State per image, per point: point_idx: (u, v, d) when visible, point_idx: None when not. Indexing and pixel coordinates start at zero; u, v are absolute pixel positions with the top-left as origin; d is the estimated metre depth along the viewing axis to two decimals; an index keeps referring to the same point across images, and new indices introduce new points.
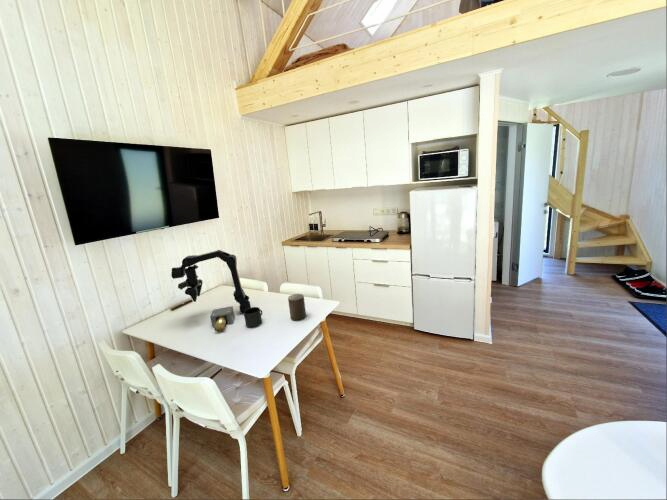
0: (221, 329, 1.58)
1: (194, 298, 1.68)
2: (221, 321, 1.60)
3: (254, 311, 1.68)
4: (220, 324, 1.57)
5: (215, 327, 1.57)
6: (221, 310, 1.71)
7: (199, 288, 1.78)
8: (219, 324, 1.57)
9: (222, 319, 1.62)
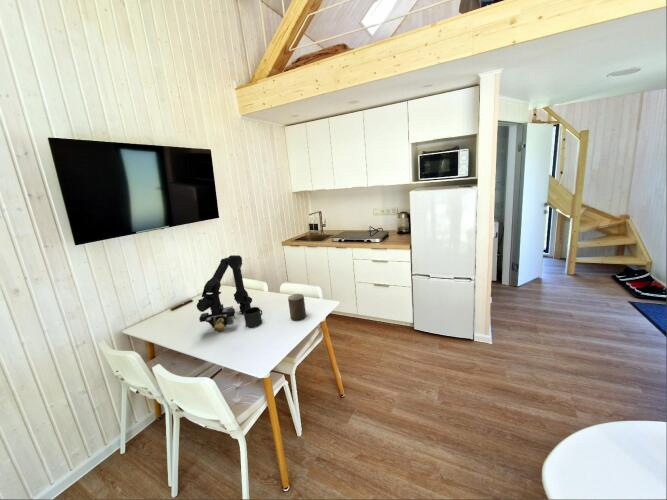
0: (221, 329, 1.58)
1: None
2: (221, 321, 1.60)
3: (254, 311, 1.68)
4: (220, 324, 1.57)
5: (215, 327, 1.57)
6: None
7: None
8: (219, 324, 1.57)
9: (222, 319, 1.62)
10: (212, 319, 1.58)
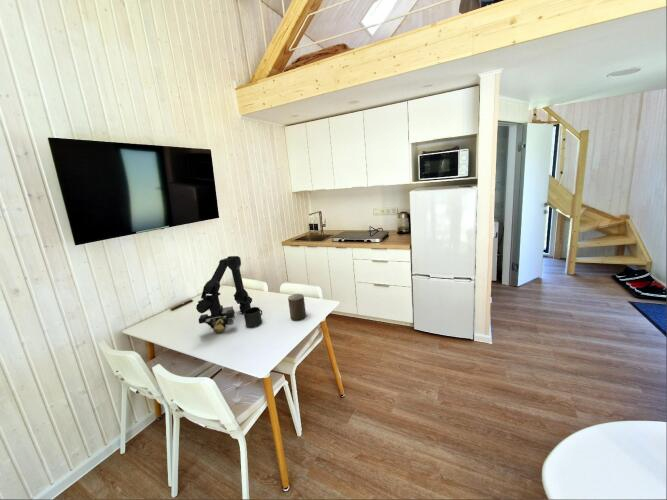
0: (220, 331, 1.56)
1: None
2: (220, 322, 1.58)
3: (254, 311, 1.68)
4: (219, 326, 1.55)
5: (214, 329, 1.55)
6: None
7: (223, 321, 1.56)
8: (219, 326, 1.55)
9: (222, 320, 1.61)
10: (211, 320, 1.56)
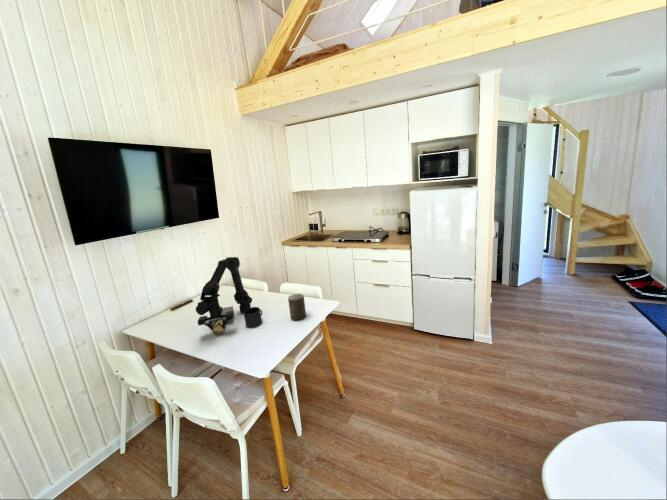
0: (220, 332, 1.54)
1: None
2: (220, 324, 1.56)
3: (254, 311, 1.67)
4: (219, 327, 1.53)
5: (214, 330, 1.53)
6: None
7: None
8: (218, 328, 1.53)
9: (221, 322, 1.59)
10: (211, 322, 1.54)
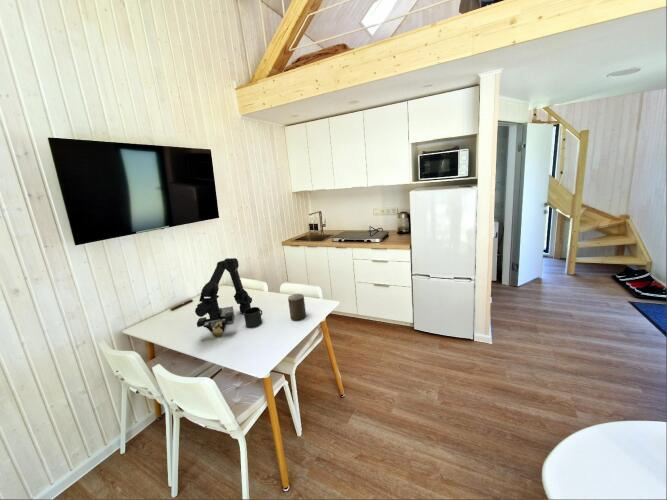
0: (219, 334, 1.52)
1: None
2: (219, 326, 1.54)
3: (254, 311, 1.67)
4: (218, 329, 1.52)
5: (213, 332, 1.51)
6: None
7: (222, 325, 1.52)
8: (217, 329, 1.52)
9: (220, 324, 1.57)
10: (210, 324, 1.52)
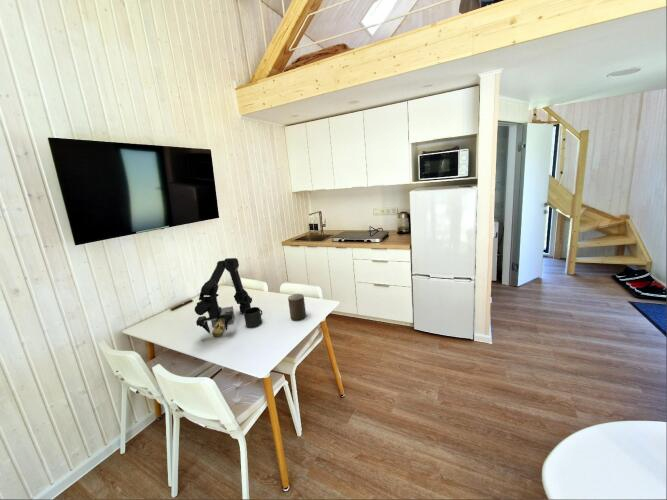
0: (219, 334, 1.52)
1: None
2: (219, 326, 1.54)
3: (254, 311, 1.68)
4: (218, 329, 1.52)
5: (213, 332, 1.51)
6: (221, 310, 1.71)
7: (225, 323, 1.52)
8: (217, 329, 1.51)
9: (220, 324, 1.57)
10: (206, 323, 1.51)
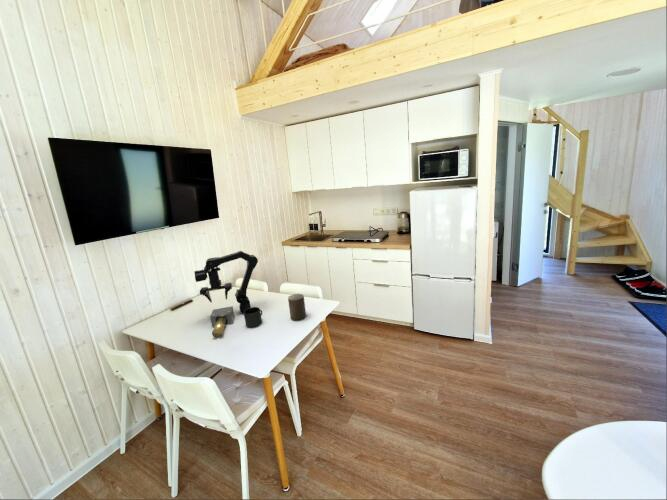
0: (219, 334, 1.52)
1: None
2: (219, 326, 1.54)
3: (254, 311, 1.68)
4: (218, 329, 1.52)
5: (213, 332, 1.51)
6: (221, 310, 1.71)
7: (225, 292, 1.73)
8: (217, 329, 1.51)
9: (220, 324, 1.57)
10: (208, 293, 1.72)
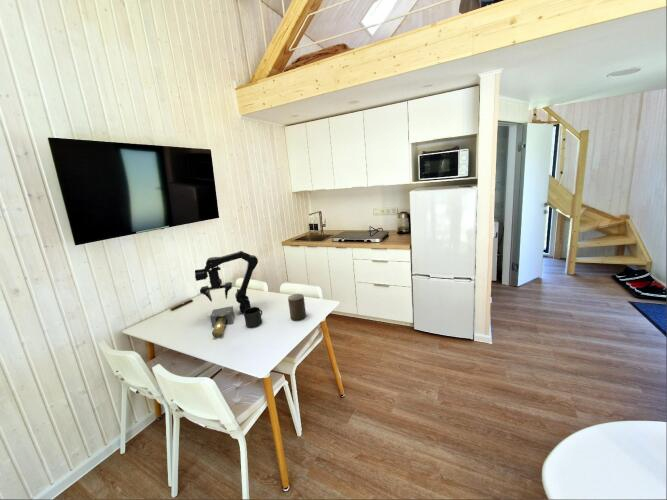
0: (219, 334, 1.52)
1: None
2: (219, 326, 1.54)
3: (254, 311, 1.68)
4: (218, 329, 1.52)
5: (213, 332, 1.51)
6: (221, 310, 1.71)
7: (225, 292, 1.74)
8: (217, 329, 1.51)
9: (220, 324, 1.57)
10: (208, 292, 1.73)
